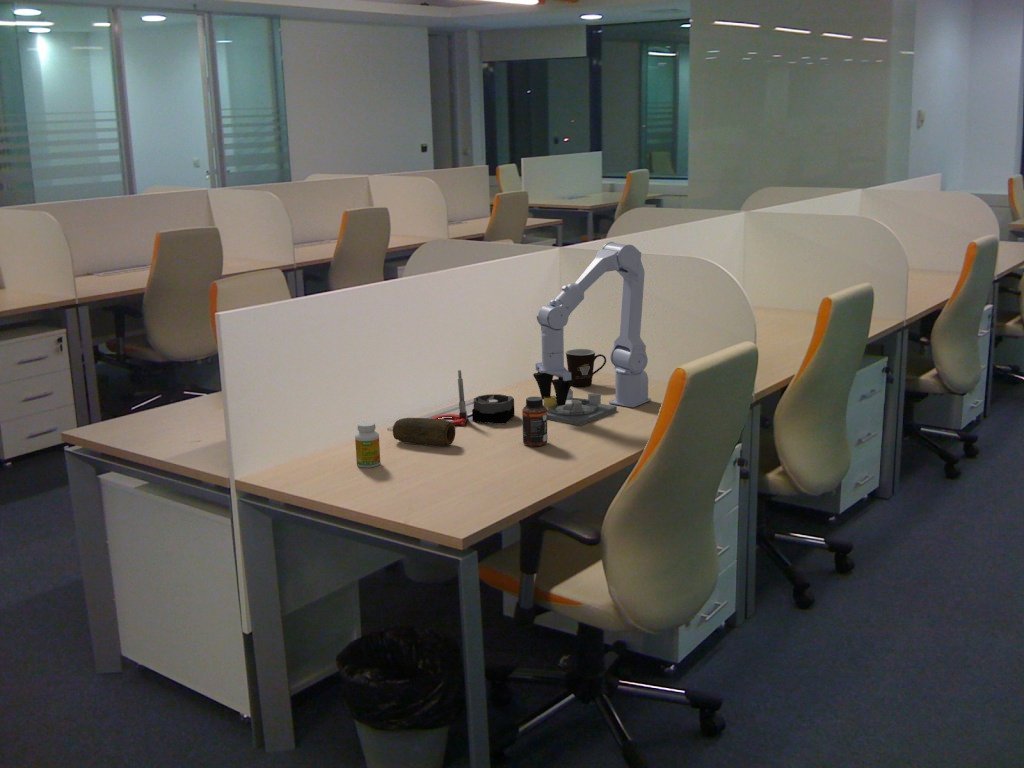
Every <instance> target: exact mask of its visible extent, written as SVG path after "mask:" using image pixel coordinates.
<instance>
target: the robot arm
mask: <svg viewBox="0 0 1024 768" xmlns="http://www.w3.org/2000/svg"><path fill="white" fill-rule="evenodd" d="M613 271H616V272H617V273H618V274H619V275H620V276H621V277H622V279H623V281H622V282H623V284H622V294H621V295H622V296H621V297H622V298H621V310H620V311H621V312H620V327H619V336H617V338H616V339H615V340H614V341H613V349H612V350H611V352H610V358H609V359H610V362H611V363H612V365H613V366H614V370H615V398H614V399H613V400H610V401H609V402H608V403H609V405H610V404H611V405H614V406H623V407H627V408H636V407H638V406H640V405H643V404H645V403H647V402H650V401H651V400H652V398H649V376H648V373H647V372H646V371H645V369H646V367H647V366H648V355H647V352H646V349H647V346H646V344H645V343H644V341H643V339H642V338H641V329H642V316H643V314H642V313H643V304H644V303H643V299H644V286H645V268H644V265H643V263H642V252H641V251H640V250H639V249H638V248H637V247H635V246H634V245H633V244H626V243H625V244H624V243H617V242H614V241H609V242H606V243H605V244H603V246H602V247H601V248H600V249H599V250H598V251H597V252H596V255H595V258H593V260H592V262H591V263H590V264H589V265H588V266H587V267H586V268H585V270H584V271H583V272H582V274H581V275H580V276H579V277H578V279H577V280H575V282H574V283H567V284H566V285H564V284H563V285H562V287H561V291H560V292H559V293H558V294H557V295H556V296H555V297H554V298H553V299H550V301H549V304H546V305H543V306H542V307H541V308H540V310H539V312H538V315H536V320H537V323H538V324H539V326H540V331H541V362H536V363H535V371H537V372H534V373H533V375H532V377H533V378H534V380H535V381H536V384H537V386H538V388H539V393H540V397H542V398H543V401H544V396H552V394H551V392H552V386H553V389H554V393H555V397H556V402H557V405H558V406H561V405H565V403H566V399H567V395H568V392H569V389H571V388H572V387H571V385H572V384H573V382H574V380H573V379H571V372H569V371H568V368H567V369H566V367H565V361H564V359H565V352H564V351H565V350H564V349H565V348H564V339H565V338H564V336H565V335H564V334H565V333H564V328H565V326H567V324H568V321H569V317H570V316H571V314H572V313H573V311H574V310H575V309H576V308H577V307H578V306H579V305H580V304H581V303H582V302H583V301H584V299H585V292H586V291H587V290H589V288H590V287H592V285H594V283H595V282H597V281H598V279H600V278H601V277H602V276H603V275H604V274H605V273H607V272H613ZM554 377H557V378H555V379H554Z"/></svg>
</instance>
